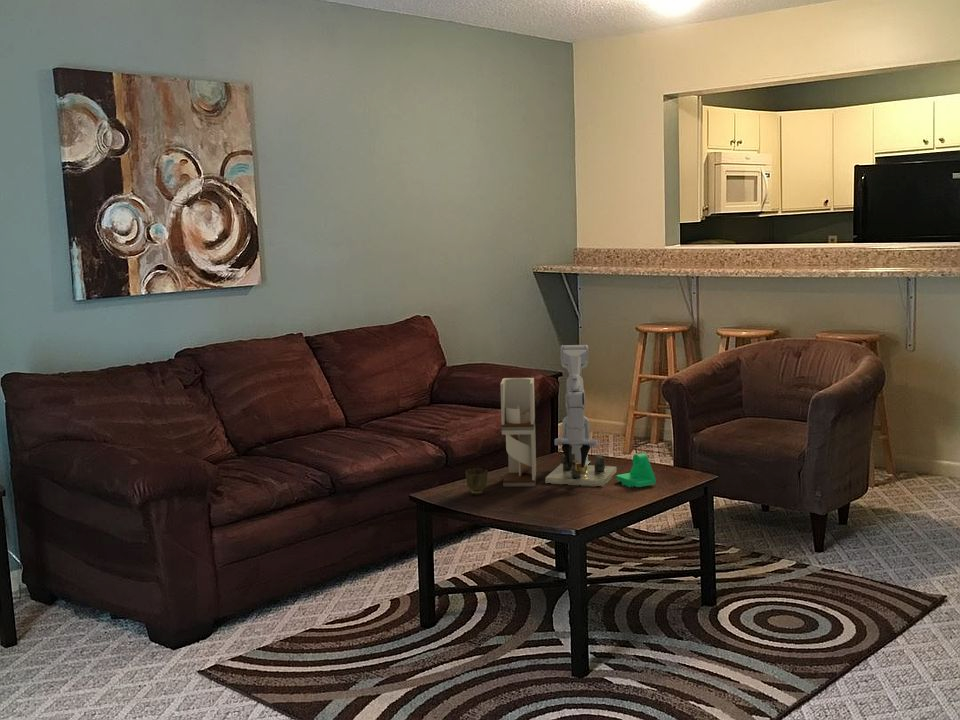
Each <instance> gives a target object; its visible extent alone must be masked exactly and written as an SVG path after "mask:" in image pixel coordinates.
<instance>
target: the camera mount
mask: <svg viewBox="0 0 960 720" xmlns="http://www.w3.org/2000/svg"><path fill="white" fill-rule="evenodd" d="M632 463H633V465H632V467H631V468H630V472H628V473H622V474H617V475H616V481H618V482H621V485H622V484H623V485H622V486H624V485H626V486H625V487H627V486H628V488H630V487H632V488H642V487H647V486H652V485H656V484H657V478H656V476H655V473H654V471H653V468H652V464H651V463H650V460H649V457H648V455H647V454H646V453H644V452H642V453H637V454H634V455H633V456H632ZM634 486H635V487H634Z"/></svg>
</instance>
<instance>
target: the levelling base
mask: <svg viewBox="0 0 960 720" xmlns="http://www.w3.org/2000/svg"><path fill="white" fill-rule="evenodd" d="M572 460H575V454H572ZM594 462H595V463H593V464H594V465H593V464H591V465H590V464H589V465H587V464H585V467H584V468H582V477H580V478H573V477H571V469H572V466H571V467H568V462H567V459H566V456H565V454H563V455H560V464H559V465H558V466H557V467H556V468H555V469H554V470H552V471H550V473H548V475H546V476H545V478H544V479H545V480H544V481H545V482H544V483H545V484H547V483H551V484H550V485H563V484H568V486H579V485H581V486H582V487H596V486H601V488H604V487H605V486H606V485H607V484H608V482H609V481H611V480H612V478H613V477H614V476H615V475H614V474H615V473H616V474H617V472H618V471H617V468H618V467H617V466H611V465H606V463H605V457H603V456H602V455H600V454H595V456H594ZM613 475H614V476H613ZM612 476H613V477H612ZM606 483H607V484H606ZM605 484H606V485H605ZM604 485H605V486H604Z"/></svg>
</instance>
